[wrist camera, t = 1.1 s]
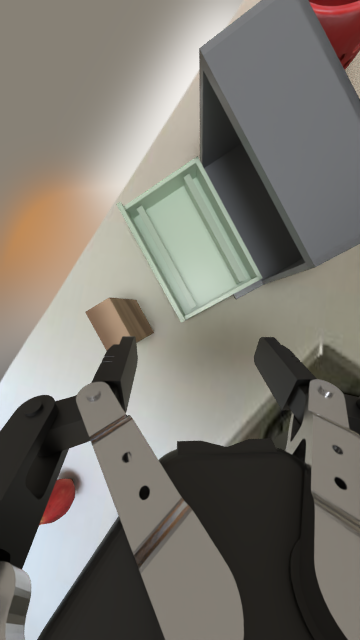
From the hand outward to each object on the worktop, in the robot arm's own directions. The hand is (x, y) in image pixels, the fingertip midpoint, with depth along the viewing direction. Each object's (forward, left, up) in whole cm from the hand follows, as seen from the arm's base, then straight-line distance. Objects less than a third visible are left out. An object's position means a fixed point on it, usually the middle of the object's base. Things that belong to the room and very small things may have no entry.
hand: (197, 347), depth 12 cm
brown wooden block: (+11, -6, -21) cm, 24 cm away
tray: (-5, -12, -20) cm, 24 cm away
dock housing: (-14, -12, -21) cm, 28 cm away
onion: (+41, +17, -21) cm, 49 cm away
